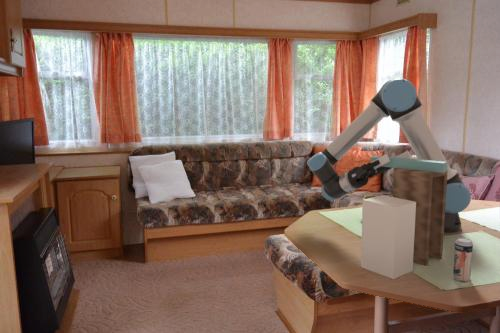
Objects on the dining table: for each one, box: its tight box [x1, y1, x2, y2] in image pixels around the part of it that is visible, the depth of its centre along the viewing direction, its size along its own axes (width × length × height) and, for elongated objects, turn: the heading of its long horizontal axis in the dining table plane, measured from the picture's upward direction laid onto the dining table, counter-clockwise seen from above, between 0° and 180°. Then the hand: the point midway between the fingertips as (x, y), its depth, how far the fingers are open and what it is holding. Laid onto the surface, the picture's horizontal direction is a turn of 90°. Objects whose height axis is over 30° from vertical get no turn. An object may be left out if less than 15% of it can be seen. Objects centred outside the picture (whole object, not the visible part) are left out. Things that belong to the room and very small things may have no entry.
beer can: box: [452, 237, 474, 282], centre depth 128 cm, size 5×5×12 cm
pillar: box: [360, 194, 416, 280], centre depth 136 cm, size 12×10×22 cm
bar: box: [370, 155, 448, 173], centre depth 144 cm, size 24×4×3 cm, turn 48°
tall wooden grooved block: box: [392, 168, 448, 267], centre depth 144 cm, size 13×10×30 cm
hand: (398, 155), depth 148 cm, fingers open, 11 cm apart
